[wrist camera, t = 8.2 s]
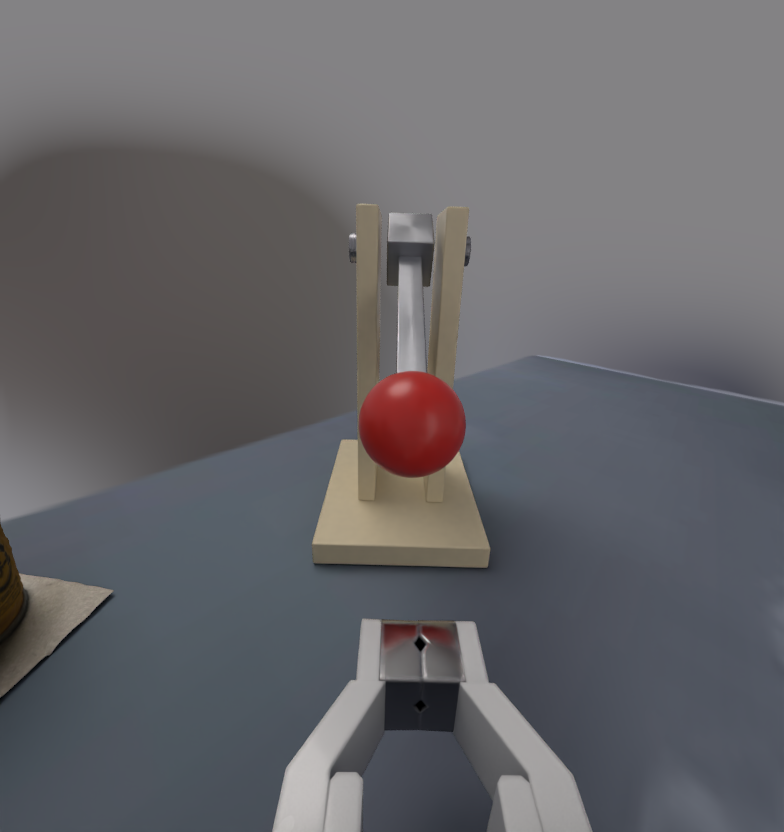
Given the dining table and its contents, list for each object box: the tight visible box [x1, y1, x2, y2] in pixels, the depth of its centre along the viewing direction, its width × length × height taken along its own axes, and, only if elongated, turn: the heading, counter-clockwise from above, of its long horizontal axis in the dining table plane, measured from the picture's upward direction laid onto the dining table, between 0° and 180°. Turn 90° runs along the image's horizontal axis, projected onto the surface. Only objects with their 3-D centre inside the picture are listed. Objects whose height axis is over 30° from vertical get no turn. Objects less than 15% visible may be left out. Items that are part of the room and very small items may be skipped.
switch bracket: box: [312, 204, 490, 568], centre depth 23 cm, size 12×9×17 cm
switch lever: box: [359, 213, 466, 478], centre depth 17 cm, size 14×4×4 cm, turn 179°
